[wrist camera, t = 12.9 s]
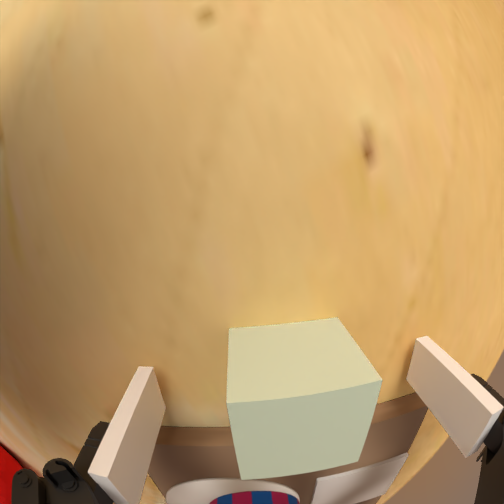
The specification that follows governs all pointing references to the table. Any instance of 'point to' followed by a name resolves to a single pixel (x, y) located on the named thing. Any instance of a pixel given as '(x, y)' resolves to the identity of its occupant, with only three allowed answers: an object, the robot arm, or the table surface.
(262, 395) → the pale sage green cube
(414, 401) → the board
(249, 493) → the mug
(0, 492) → the tomato
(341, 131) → the table surface
